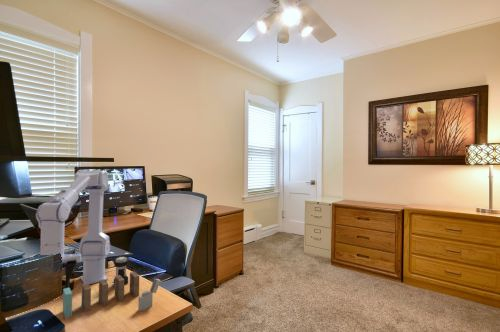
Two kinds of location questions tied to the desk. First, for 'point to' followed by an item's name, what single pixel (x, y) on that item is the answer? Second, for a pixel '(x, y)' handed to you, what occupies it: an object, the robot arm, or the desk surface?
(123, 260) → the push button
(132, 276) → the domino
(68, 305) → the domino
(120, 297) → the row domino
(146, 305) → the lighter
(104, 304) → the row domino
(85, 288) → the row domino
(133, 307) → the desk surface
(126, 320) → the desk surface
